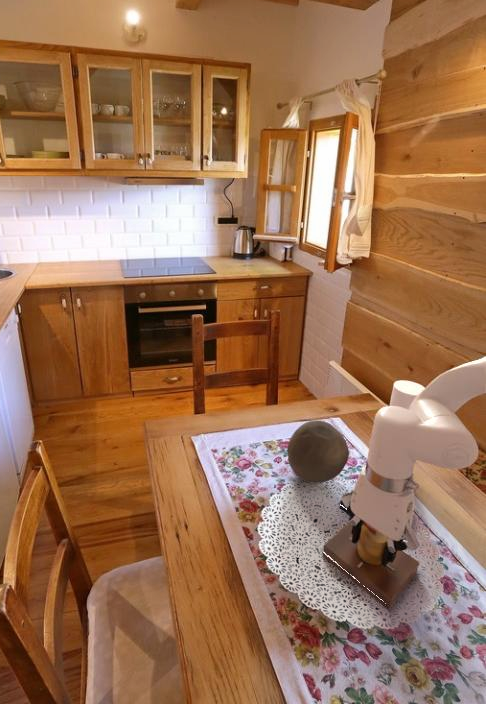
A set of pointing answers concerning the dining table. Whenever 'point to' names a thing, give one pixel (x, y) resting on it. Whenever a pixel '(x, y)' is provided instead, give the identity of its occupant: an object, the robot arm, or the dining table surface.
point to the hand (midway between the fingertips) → (371, 549)
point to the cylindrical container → (405, 393)
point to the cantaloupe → (317, 452)
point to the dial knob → (371, 544)
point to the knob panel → (371, 568)
